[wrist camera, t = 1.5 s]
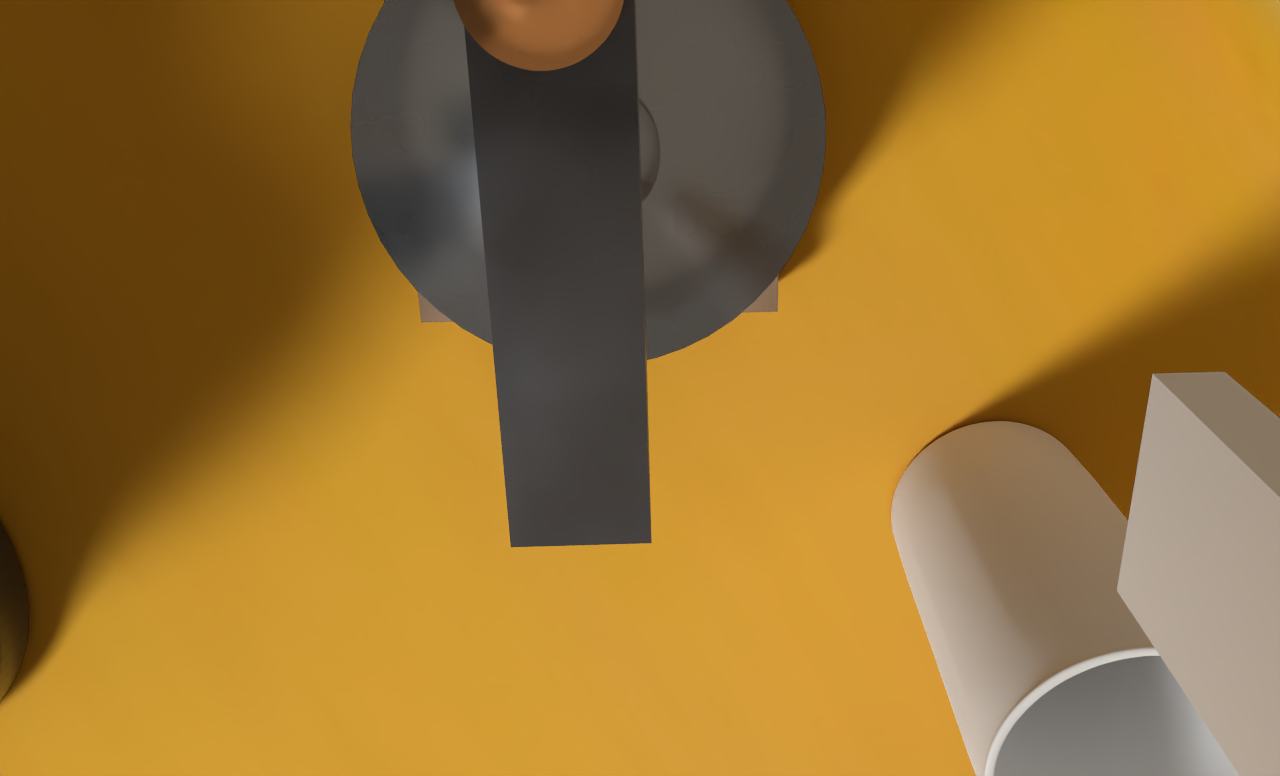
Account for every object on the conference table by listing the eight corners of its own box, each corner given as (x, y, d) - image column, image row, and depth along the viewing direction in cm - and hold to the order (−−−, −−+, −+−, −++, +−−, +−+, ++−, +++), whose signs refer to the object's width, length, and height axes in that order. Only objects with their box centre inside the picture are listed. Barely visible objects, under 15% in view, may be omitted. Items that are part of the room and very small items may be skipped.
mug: (842, 482, 37) (930, 741, 26) (1030, 370, 35) (1210, 595, 24) (991, 689, 40) (1126, 995, 29) (1169, 595, 38) (1381, 882, 28)
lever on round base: (388, 359, 32) (240, 651, 20) (327, -111, 27) (81, -100, 15) (813, 346, 32) (922, 632, 20) (828, -128, 27) (985, -131, 15)
